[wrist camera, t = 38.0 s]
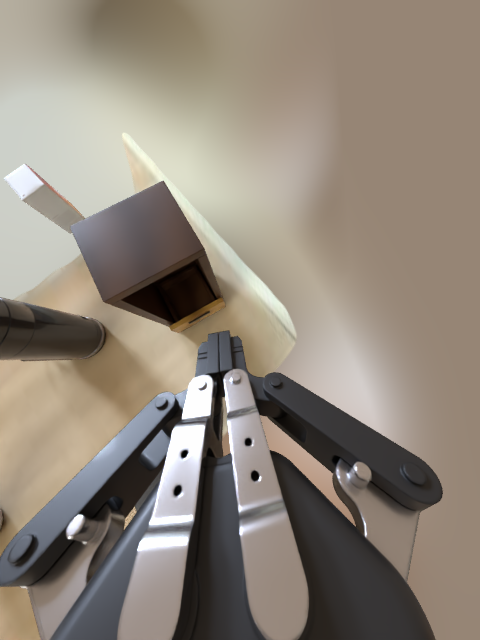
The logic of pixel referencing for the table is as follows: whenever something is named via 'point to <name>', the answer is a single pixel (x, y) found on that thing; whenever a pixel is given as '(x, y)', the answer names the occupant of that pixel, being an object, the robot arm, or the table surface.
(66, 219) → the small box
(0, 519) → the water bottle
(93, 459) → the robot arm
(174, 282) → the drawer
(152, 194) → the cubby
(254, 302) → the table surface
